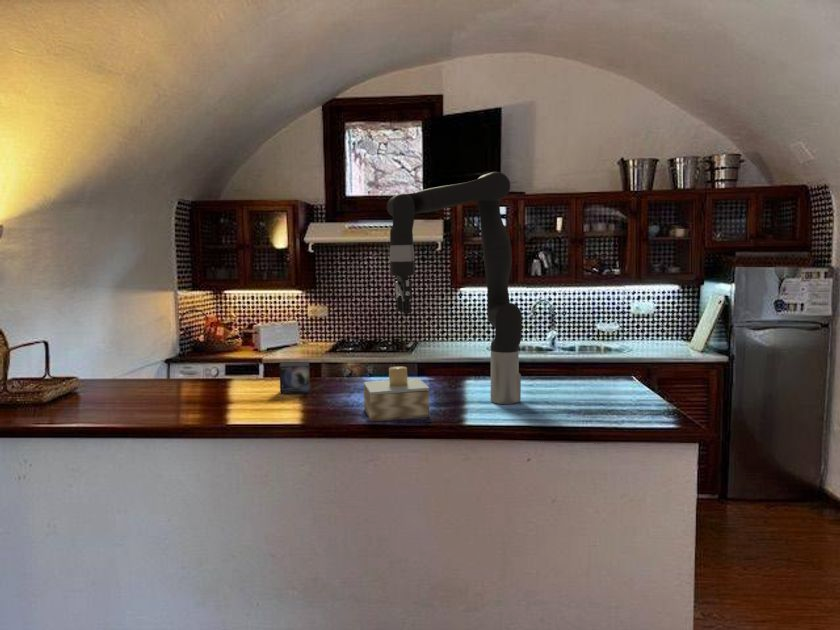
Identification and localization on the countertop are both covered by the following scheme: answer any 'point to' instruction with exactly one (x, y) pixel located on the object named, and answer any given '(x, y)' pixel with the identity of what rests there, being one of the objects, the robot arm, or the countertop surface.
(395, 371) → the tan rounded piece
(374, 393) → the lid
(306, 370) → the small box
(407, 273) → the robot arm
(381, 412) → the crate
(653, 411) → the countertop surface
